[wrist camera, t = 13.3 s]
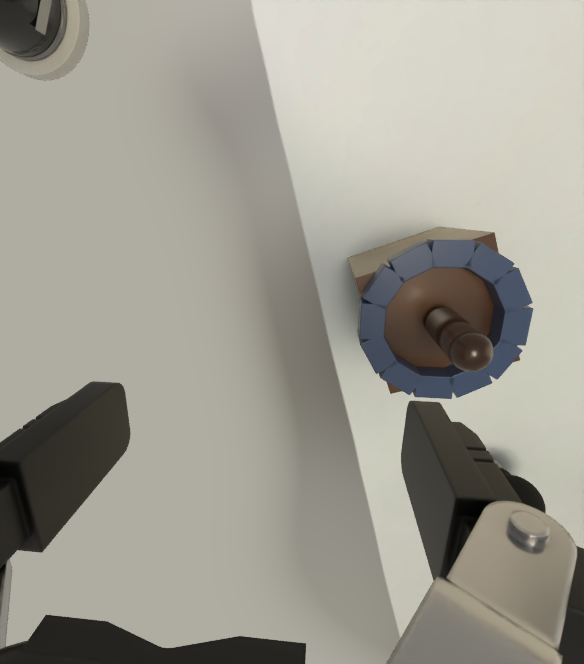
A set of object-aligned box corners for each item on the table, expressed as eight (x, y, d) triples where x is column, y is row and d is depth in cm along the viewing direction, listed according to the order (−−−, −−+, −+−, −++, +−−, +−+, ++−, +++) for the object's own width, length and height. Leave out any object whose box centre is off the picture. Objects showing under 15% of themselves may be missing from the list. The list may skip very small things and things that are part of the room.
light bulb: (477, 489, 48) (512, 556, 38) (453, 456, 47) (484, 517, 37) (520, 468, 46) (568, 533, 37) (497, 434, 45) (540, 492, 36)
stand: (347, 257, 41) (363, 301, 20) (439, 226, 39) (562, 239, 18) (372, 339, 43) (409, 454, 23) (460, 314, 41) (589, 414, 21)
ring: (331, 287, 28) (331, 291, 26) (482, 206, 25) (493, 206, 24) (397, 409, 30) (401, 421, 29) (541, 348, 28) (555, 357, 26)
